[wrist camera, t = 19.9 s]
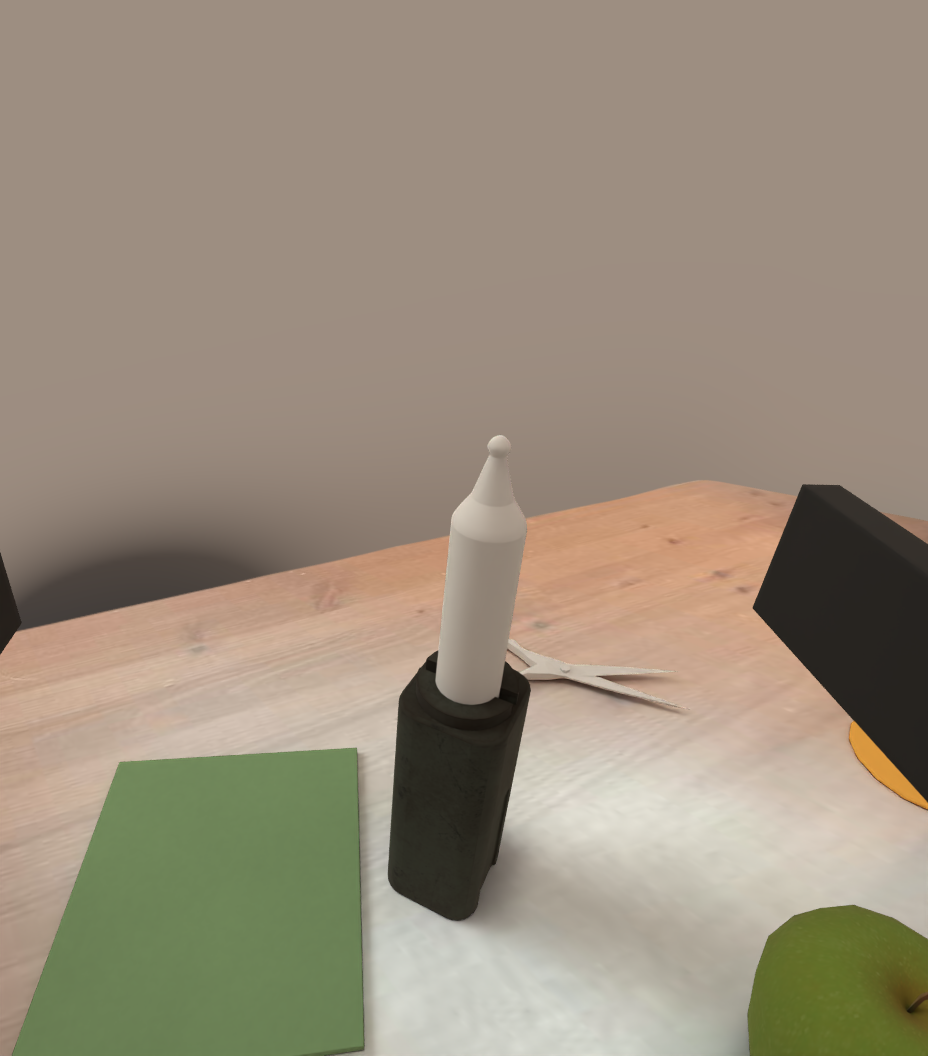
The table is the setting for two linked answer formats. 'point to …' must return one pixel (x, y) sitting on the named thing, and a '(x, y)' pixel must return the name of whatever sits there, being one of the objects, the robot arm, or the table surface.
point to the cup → (882, 766)
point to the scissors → (581, 673)
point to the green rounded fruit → (841, 987)
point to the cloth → (212, 915)
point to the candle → (463, 710)
